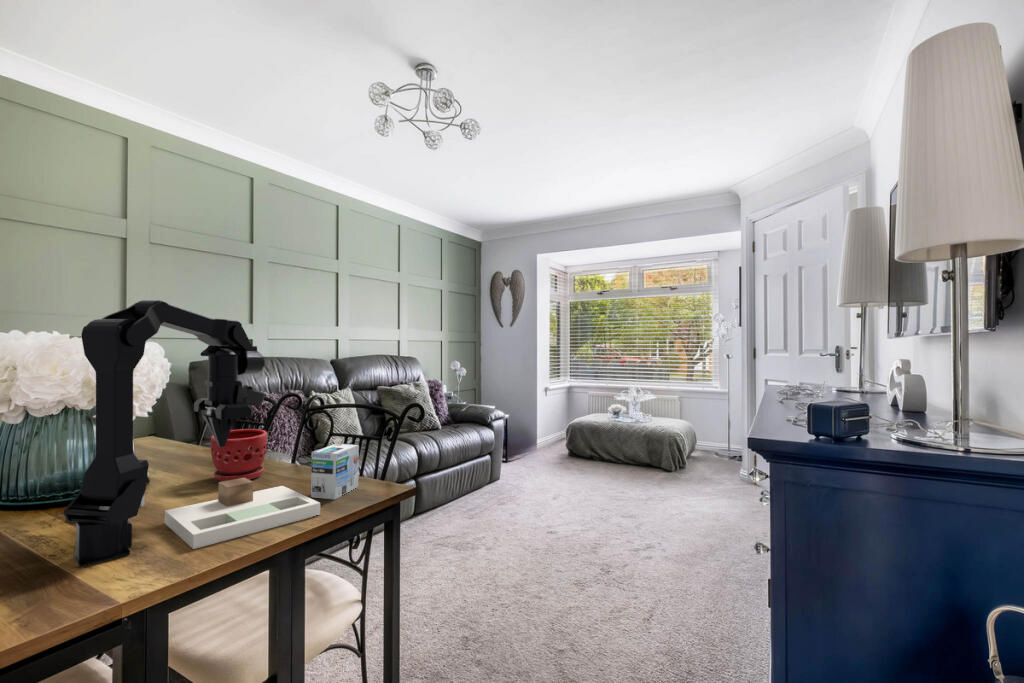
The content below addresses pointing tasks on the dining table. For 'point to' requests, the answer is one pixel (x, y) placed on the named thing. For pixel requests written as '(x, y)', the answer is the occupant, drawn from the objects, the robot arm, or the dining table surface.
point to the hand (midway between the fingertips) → (221, 446)
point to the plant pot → (240, 455)
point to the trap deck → (239, 516)
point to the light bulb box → (334, 471)
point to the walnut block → (235, 491)
